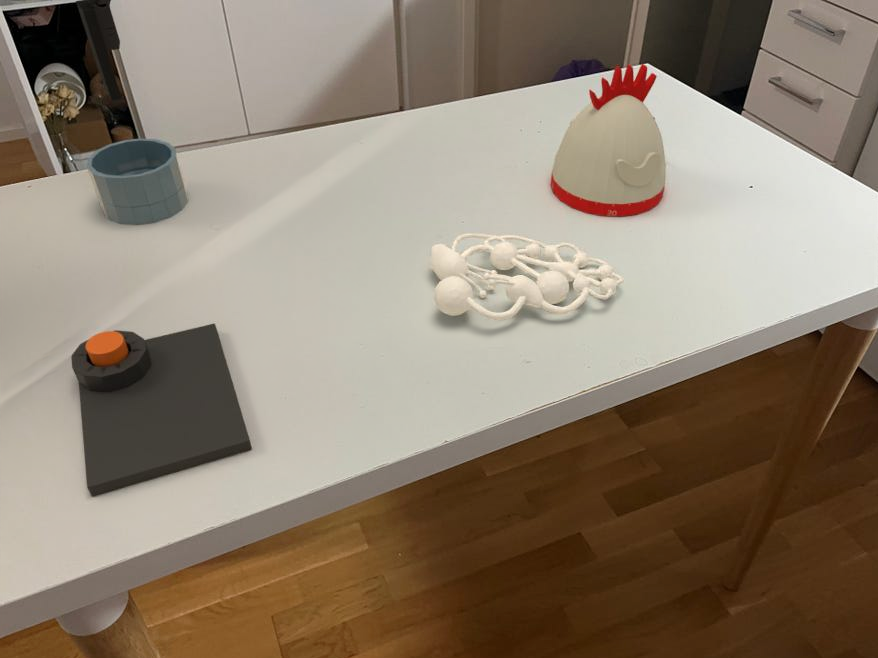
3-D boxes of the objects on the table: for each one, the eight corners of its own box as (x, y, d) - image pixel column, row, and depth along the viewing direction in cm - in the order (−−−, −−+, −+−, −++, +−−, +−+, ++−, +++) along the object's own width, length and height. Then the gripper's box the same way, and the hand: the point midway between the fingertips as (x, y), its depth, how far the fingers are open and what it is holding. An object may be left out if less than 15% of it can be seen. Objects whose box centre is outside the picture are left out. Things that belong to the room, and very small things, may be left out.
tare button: (90, 349, 65) (84, 335, 64) (126, 341, 66) (121, 327, 65) (92, 371, 63) (86, 357, 62) (130, 362, 64) (125, 348, 63)
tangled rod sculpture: (599, 253, 85) (605, 219, 82) (634, 325, 73) (642, 289, 71) (427, 255, 83) (427, 221, 80) (436, 331, 71) (436, 293, 69)
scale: (80, 365, 68) (69, 340, 66) (217, 332, 71) (210, 307, 69) (92, 497, 57) (78, 472, 55) (252, 450, 61) (245, 424, 59)
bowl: (90, 225, 85) (68, 164, 80) (151, 190, 91) (133, 131, 86) (150, 247, 82) (130, 185, 77) (208, 210, 88) (193, 150, 83)
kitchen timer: (684, 204, 91) (713, 81, 81) (584, 225, 87) (601, 98, 77) (625, 154, 101) (644, 38, 90) (532, 171, 96) (541, 51, 86)
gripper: (-454, -250, 35) (-187, 173, 49) (113, -258, 45) (199, 95, 59) (-416, -257, 39) (-183, 130, 53) (89, -263, 49) (174, 65, 63)
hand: (17, 112), depth 56 cm, fingers open, 13 cm apart
